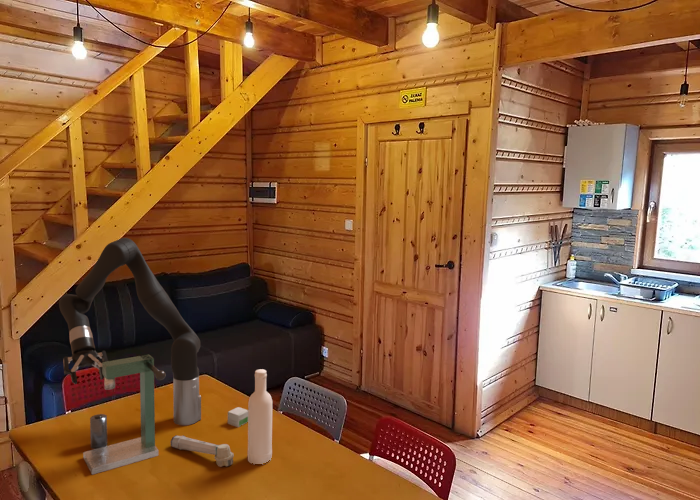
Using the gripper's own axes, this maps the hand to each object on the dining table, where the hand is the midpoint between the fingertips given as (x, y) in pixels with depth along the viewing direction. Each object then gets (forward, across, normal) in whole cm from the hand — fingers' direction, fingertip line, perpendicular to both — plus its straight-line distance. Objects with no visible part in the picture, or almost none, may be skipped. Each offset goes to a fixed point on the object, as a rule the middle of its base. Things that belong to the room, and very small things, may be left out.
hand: (89, 380), depth 181 cm
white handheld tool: (+41, +26, -14) cm, 50 cm away
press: (+34, +4, -7) cm, 35 cm away
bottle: (+49, +40, -23) cm, 68 cm away
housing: (+22, 0, +5) cm, 22 cm away
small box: (+30, +46, -3) cm, 55 cm away
